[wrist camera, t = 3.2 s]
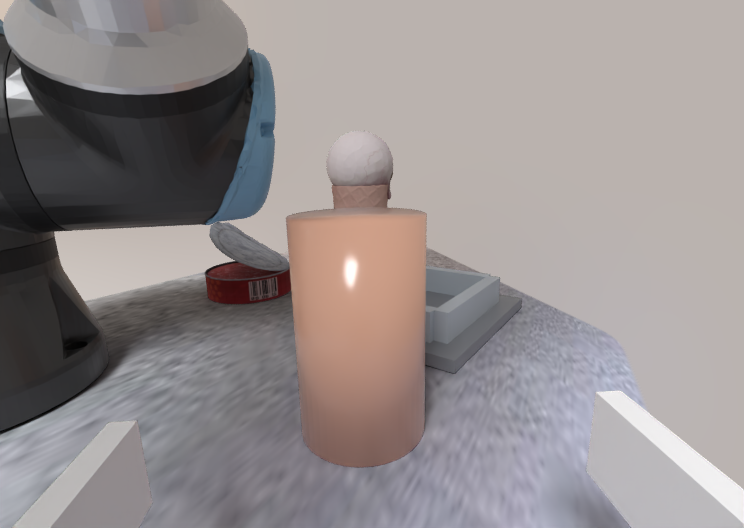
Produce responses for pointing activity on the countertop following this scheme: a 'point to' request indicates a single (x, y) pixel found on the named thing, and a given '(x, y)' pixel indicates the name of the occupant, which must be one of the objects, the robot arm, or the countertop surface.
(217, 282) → the canned food
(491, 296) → the grey rectangular tray
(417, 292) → the peach round cylinder
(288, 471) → the countertop surface
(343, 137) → the ice cream cone
